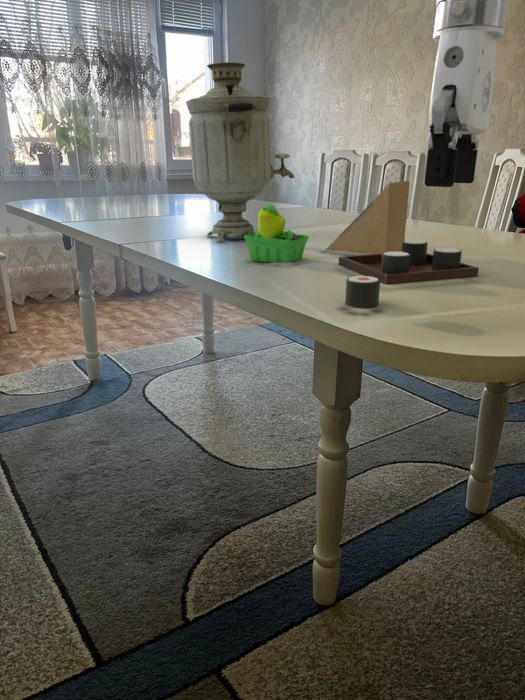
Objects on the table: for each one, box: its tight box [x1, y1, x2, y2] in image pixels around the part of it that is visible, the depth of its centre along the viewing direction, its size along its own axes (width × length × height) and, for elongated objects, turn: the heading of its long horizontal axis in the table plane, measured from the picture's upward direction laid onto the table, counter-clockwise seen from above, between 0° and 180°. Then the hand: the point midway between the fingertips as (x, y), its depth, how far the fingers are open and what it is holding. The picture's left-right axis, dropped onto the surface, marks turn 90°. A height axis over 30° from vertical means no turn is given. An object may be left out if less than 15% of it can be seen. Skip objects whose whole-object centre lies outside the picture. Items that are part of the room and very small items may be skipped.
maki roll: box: [344, 275, 381, 309], centre depth 75 cm, size 5×5×4 cm
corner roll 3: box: [432, 247, 463, 270], centre depth 93 cm, size 5×5×4 cm
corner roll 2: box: [401, 239, 428, 266], centre depth 102 cm, size 5×5×4 cm
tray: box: [338, 252, 480, 286], centre depth 97 cm, size 18×18×2 cm
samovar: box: [185, 61, 295, 243], centre depth 133 cm, size 30×26×40 cm
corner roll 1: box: [381, 251, 411, 274], centre depth 91 cm, size 5×5×4 cm
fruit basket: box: [243, 204, 310, 264], centre depth 107 cm, size 11×9×11 cm
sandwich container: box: [325, 180, 410, 255], centre depth 117 cm, size 9×15×15 cm, turn 49°
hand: (450, 184), depth 66 cm, fingers open, 9 cm apart
